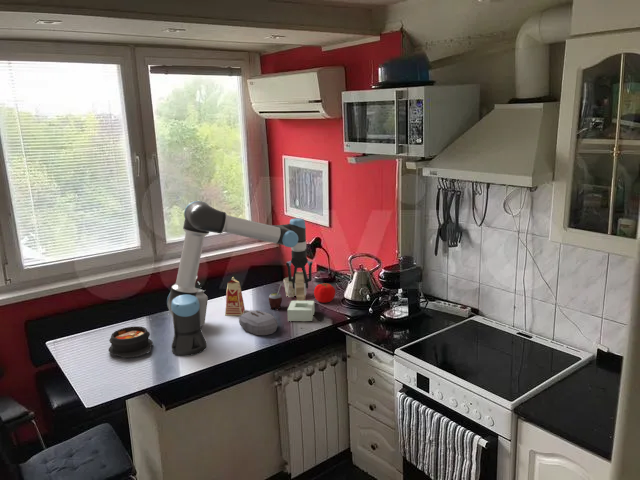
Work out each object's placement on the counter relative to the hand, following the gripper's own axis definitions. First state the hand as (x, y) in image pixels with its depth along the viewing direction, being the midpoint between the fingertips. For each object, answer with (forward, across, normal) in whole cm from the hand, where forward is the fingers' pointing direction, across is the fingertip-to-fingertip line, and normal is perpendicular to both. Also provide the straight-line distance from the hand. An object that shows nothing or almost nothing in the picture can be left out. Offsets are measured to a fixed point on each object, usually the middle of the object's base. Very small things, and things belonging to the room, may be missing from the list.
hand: (300, 294), depth 261 cm
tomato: (+12, -10, -23) cm, 28 cm away
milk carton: (+12, +36, -5) cm, 38 cm away
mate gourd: (+12, +15, -12) cm, 23 cm away
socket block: (+12, 0, 0) cm, 12 cm away
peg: (+3, 0, 0) cm, 3 cm away
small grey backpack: (+12, +18, +17) cm, 28 cm away
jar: (+10, +56, +18) cm, 60 cm away
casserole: (+12, +71, +42) cm, 83 cm away
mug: (+12, +10, -30) cm, 34 cm away
